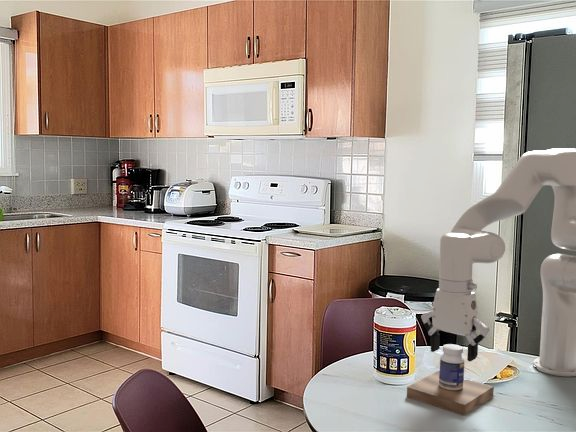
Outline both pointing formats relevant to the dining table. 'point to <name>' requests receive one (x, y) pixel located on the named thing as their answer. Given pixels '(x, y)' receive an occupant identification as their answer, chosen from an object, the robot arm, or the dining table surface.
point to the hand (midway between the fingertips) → (453, 355)
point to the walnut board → (450, 394)
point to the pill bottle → (451, 367)
